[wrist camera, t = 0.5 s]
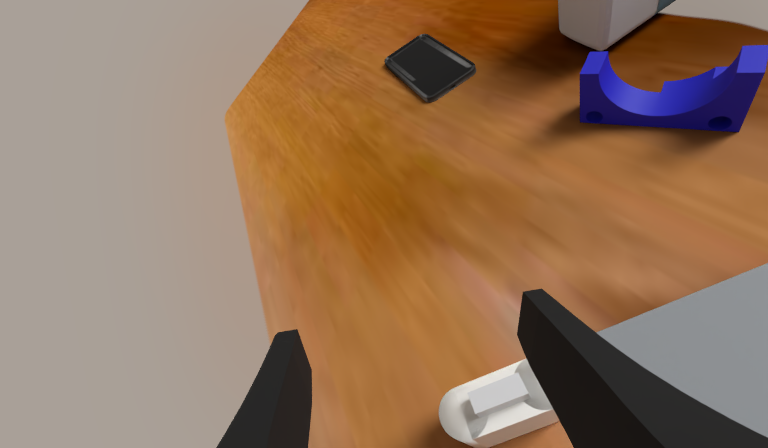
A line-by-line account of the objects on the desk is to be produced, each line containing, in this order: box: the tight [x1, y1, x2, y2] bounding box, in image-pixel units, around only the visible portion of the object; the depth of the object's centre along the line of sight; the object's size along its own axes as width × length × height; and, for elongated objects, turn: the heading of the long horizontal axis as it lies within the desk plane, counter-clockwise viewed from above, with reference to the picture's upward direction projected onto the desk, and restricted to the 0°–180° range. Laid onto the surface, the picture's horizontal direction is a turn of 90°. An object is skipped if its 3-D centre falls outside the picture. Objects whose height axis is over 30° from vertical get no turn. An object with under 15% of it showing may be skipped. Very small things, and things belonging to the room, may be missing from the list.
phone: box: [385, 34, 476, 102], centre depth 53 cm, size 8×1×15 cm
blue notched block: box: [580, 45, 768, 132], centre depth 33 cm, size 12×4×6 cm, turn 59°
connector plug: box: [439, 359, 560, 448], centre depth 24 cm, size 3×8×6 cm, turn 106°
